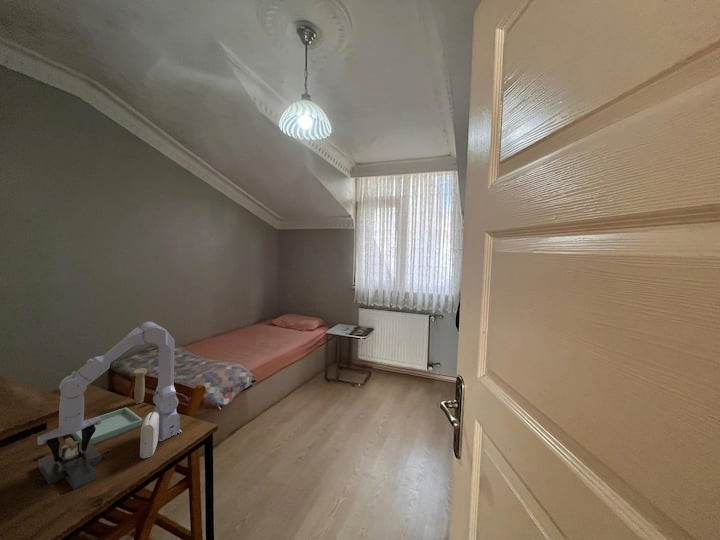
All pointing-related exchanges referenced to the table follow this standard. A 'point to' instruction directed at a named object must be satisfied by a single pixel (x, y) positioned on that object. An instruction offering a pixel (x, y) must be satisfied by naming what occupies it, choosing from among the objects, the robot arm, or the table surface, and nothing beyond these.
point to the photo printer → (149, 435)
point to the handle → (139, 385)
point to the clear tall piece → (70, 451)
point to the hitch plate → (71, 467)
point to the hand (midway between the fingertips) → (70, 455)
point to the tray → (112, 425)
